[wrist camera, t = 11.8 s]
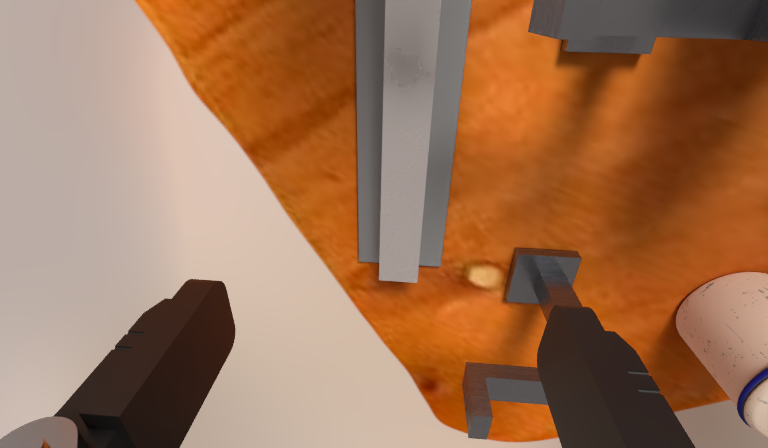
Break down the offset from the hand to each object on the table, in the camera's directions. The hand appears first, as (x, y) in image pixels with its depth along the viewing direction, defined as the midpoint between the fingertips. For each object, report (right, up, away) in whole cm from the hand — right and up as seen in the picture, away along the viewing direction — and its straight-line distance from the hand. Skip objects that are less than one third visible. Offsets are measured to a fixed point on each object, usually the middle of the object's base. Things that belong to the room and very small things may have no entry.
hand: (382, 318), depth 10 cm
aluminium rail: (+2, +10, +17) cm, 20 cm away
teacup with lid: (+31, -5, +24) cm, 39 cm away
